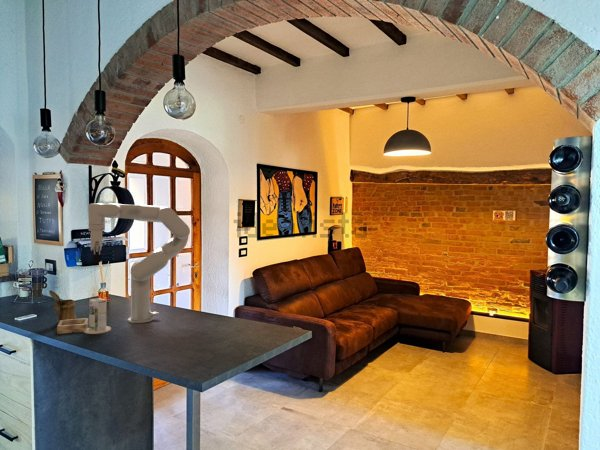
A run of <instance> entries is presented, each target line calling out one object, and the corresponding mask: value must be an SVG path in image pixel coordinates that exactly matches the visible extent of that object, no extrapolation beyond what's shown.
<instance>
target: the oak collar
mask: <svg viewBox="0 0 600 450" xmlns="http://www.w3.org/2000/svg"><path fill="white" fill-rule="evenodd" d="M87 328H89V317H87V318H86V317H84V318H77V319H68V320H60V322H59V324H58V323H57V326H56V334H57V335H59V334H70V333H71V334H72V332H74V333H84V330H87Z"/></svg>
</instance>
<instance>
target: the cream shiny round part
mask: <svg viewBox="0 0 600 450" xmlns="http://www.w3.org/2000/svg"><path fill="white" fill-rule="evenodd" d="M111 330H112V327H111V326H108V325H106V329H103V330H99V331H94V330H90V329H89V327H88V328H87V330H84V332H83V334H84V333H85V334H87V335H99V334H105V333H108V332H111Z"/></svg>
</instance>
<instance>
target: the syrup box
mask: <svg viewBox="0 0 600 450" xmlns="http://www.w3.org/2000/svg"><path fill="white" fill-rule="evenodd" d="M88 302H89V308H88V309H89V313H88V314H89V316H88V328H89V329H90V330H94V331H99V330H103V329H106V326H107V299H104V298H101V297H99V298H91V299H89V301H88Z"/></svg>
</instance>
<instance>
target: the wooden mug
mask: <svg viewBox="0 0 600 450" xmlns="http://www.w3.org/2000/svg"><path fill="white" fill-rule="evenodd" d="M49 295H50V296H51V297H52V299H54V300H55V302H54V312H55V313H56V314H57V316H58V317H57V322H56V324H57V325H58V324H59V322H60V320H68V319H78V318H77V314H76V308H75V306H76V303H75V300H74V299H64V300H63V299H62V300H61V298H60V296H59V295H58V293H56V292H55V291H53V290H49Z"/></svg>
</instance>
